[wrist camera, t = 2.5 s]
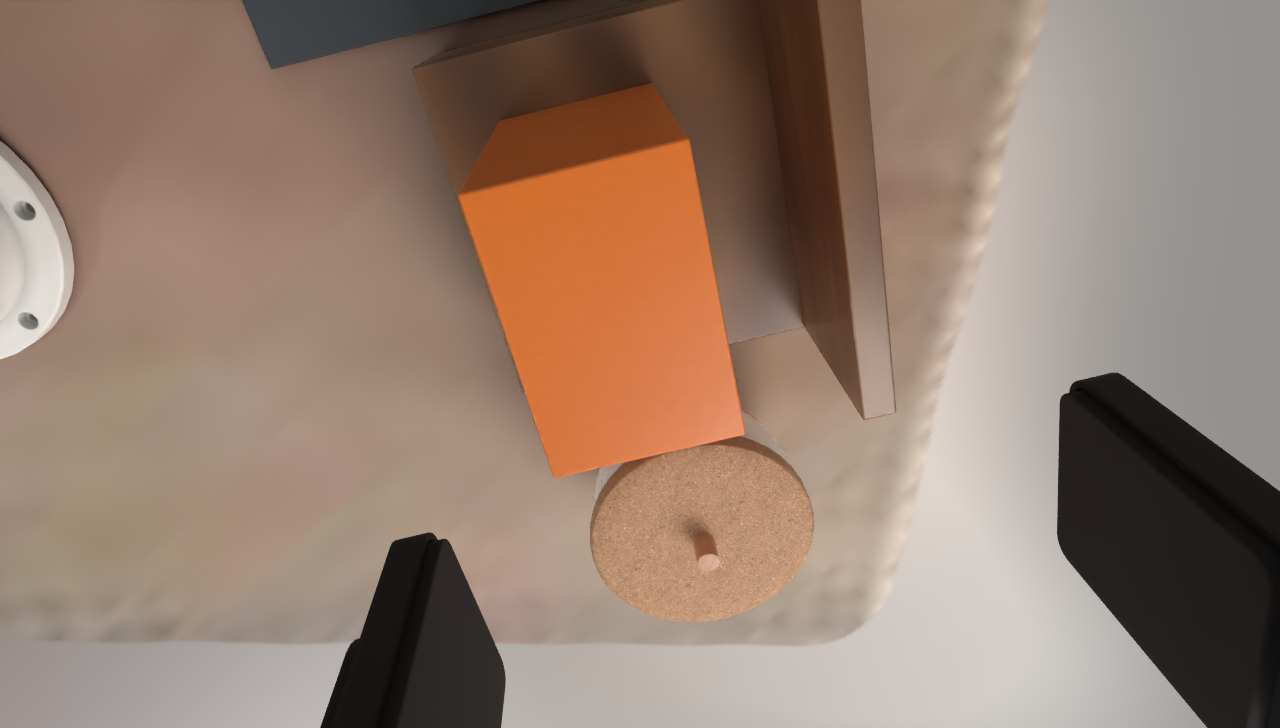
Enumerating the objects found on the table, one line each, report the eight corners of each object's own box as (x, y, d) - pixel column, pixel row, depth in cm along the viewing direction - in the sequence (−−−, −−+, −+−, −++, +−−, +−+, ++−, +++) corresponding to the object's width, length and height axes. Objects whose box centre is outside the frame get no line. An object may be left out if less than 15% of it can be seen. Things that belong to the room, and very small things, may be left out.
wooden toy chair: (530, 337, 40) (507, 502, 27) (438, 53, 34) (354, 99, 21) (797, 274, 39) (897, 413, 27) (754, -28, 33) (859, -28, 21)
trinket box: (559, 494, 44) (554, 614, 36) (636, 336, 40) (651, 431, 32) (724, 547, 47) (755, 671, 39) (812, 405, 43) (869, 509, 35)
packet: (561, 330, 33) (553, 479, 24) (498, 120, 29) (456, 194, 19) (698, 298, 33) (746, 435, 23) (653, 82, 29) (689, 137, 19)
